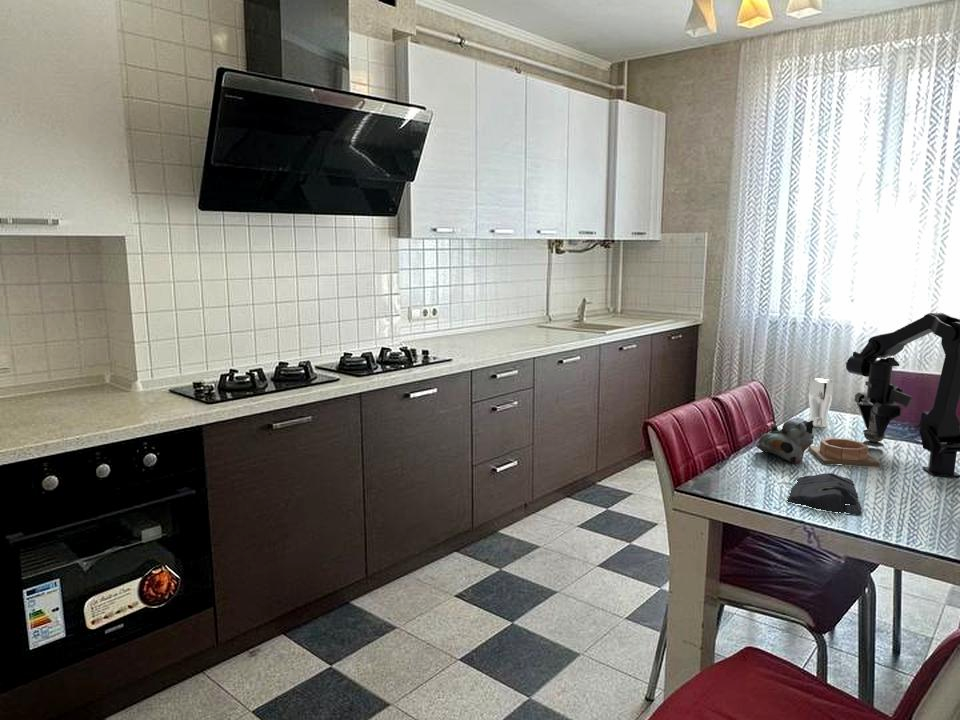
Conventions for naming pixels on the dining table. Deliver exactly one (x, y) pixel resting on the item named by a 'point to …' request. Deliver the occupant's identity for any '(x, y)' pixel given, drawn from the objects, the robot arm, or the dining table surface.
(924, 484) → the dining table surface
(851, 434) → the dining table surface
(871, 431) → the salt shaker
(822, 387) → the beer glass
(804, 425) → the lucky cat figurine
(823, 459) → the collar board
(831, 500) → the dark slate chunk
